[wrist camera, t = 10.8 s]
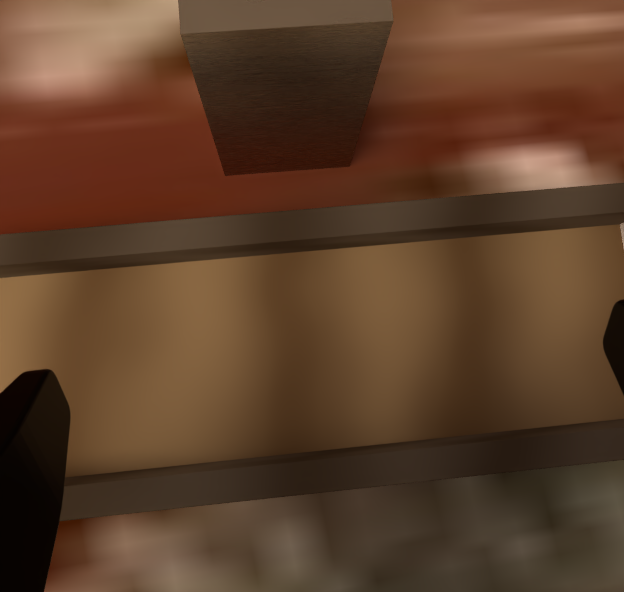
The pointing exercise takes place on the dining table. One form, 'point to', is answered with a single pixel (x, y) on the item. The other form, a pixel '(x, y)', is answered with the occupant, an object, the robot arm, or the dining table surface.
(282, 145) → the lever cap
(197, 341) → the tan piece
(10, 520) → the robot arm
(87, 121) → the dining table surface
